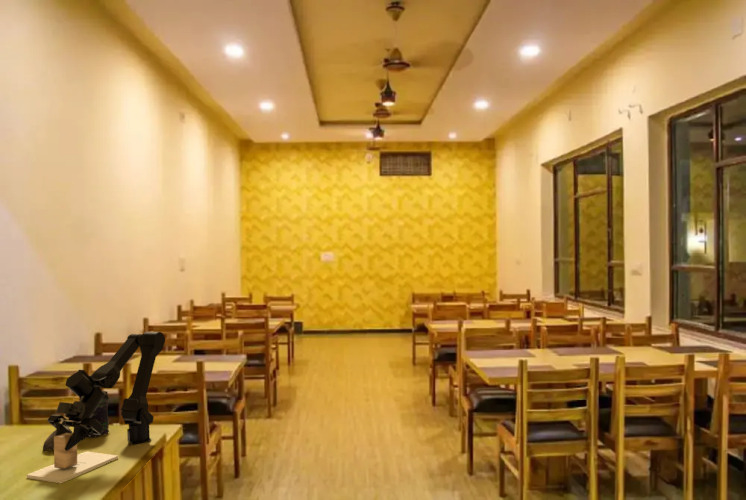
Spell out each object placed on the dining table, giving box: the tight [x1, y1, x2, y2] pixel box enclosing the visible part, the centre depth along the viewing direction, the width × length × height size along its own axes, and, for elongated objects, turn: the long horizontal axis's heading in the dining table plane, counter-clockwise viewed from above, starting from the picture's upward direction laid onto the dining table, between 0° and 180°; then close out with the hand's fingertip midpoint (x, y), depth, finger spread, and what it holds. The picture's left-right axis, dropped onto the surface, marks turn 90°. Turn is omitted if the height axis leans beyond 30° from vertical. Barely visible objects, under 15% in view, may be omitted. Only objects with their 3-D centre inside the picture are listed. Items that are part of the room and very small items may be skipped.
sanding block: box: [53, 432, 78, 469], centre depth 191 cm, size 4×4×10 cm
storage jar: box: [78, 392, 110, 439], centre depth 230 cm, size 10×10×15 cm
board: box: [26, 451, 119, 484], centre depth 193 cm, size 22×14×1 cm, turn 157°
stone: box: [42, 428, 73, 451], centre depth 214 cm, size 10×8×10 cm
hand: (59, 449), depth 189 cm, fingers closed on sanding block, 4 cm apart
